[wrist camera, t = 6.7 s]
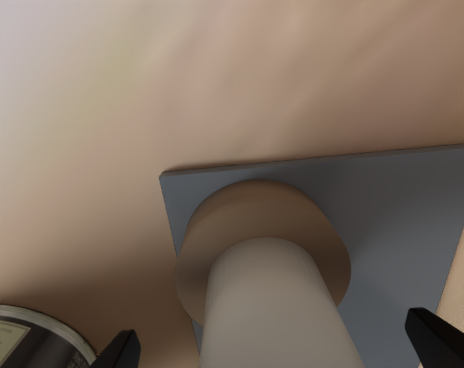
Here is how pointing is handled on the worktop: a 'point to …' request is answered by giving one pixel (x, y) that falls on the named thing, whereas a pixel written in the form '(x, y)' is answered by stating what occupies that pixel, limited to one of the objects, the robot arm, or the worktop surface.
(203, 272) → the base
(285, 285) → the cap
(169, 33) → the worktop surface
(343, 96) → the worktop surface
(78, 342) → the coffee can
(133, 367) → the robot arm
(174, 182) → the board
